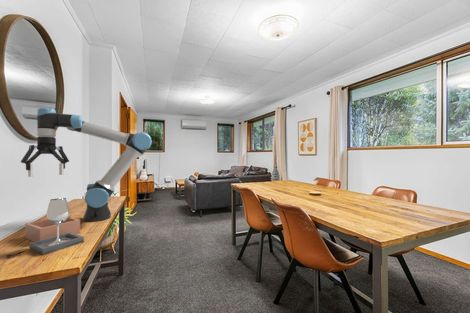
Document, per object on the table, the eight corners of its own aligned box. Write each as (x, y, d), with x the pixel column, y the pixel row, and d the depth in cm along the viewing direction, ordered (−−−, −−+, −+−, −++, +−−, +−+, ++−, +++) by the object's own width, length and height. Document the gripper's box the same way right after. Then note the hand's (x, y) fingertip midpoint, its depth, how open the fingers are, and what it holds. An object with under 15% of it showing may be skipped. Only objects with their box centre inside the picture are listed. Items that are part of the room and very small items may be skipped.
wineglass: (72, 240, 97) (73, 197, 97) (53, 247, 89) (53, 201, 89) (61, 238, 99) (62, 196, 99) (42, 245, 92) (42, 200, 92)
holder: (64, 228, 117) (64, 215, 117) (80, 233, 110) (80, 219, 110) (25, 237, 103) (25, 223, 103) (39, 244, 95) (40, 228, 95)
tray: (69, 237, 104) (69, 232, 104) (83, 242, 98) (83, 236, 98) (29, 248, 90) (29, 243, 90) (42, 255, 84) (42, 249, 84)
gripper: (68, 139, 126) (68, 173, 126) (11, 135, 104) (11, 177, 104) (76, 138, 123) (76, 174, 123) (19, 134, 101) (18, 177, 100)
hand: (46, 175), depth 113 cm, fingers open, 13 cm apart
